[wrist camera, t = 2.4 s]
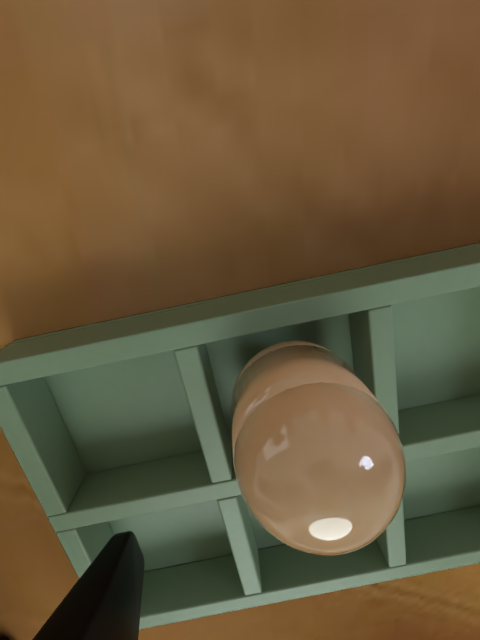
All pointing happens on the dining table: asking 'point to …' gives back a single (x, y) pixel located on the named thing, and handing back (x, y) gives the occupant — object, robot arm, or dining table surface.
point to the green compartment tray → (216, 431)
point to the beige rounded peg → (314, 450)
